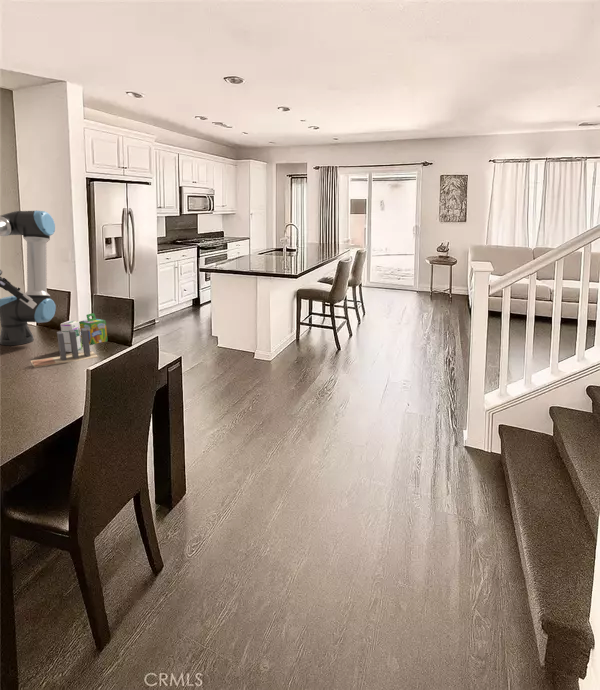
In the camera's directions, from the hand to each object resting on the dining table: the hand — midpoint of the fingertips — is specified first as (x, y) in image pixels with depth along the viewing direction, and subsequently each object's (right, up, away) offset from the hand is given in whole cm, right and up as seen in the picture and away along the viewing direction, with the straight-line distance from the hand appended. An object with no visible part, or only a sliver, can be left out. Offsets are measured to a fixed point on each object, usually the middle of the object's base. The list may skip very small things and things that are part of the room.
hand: (32, 304), depth 232 cm
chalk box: (+16, -17, +30) cm, 38 cm away
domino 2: (+18, -23, +3) cm, 29 cm away
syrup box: (+12, -22, +14) cm, 28 cm away
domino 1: (+13, -24, 0) cm, 28 cm away
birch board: (+14, -25, +1) cm, 29 cm away
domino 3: (+22, -23, +5) cm, 32 cm away
